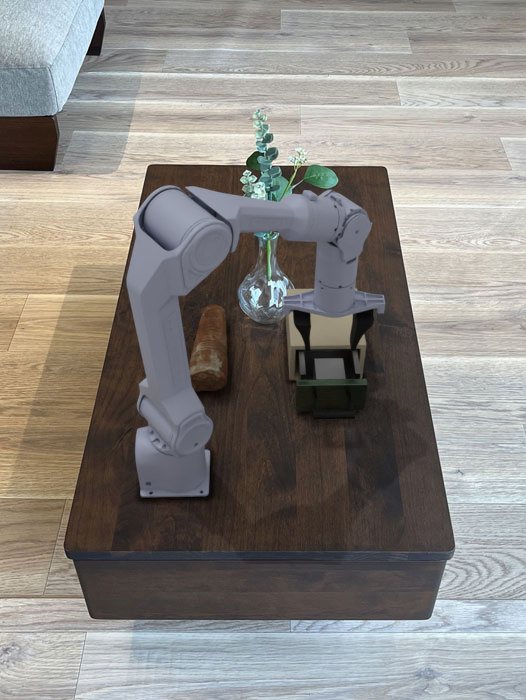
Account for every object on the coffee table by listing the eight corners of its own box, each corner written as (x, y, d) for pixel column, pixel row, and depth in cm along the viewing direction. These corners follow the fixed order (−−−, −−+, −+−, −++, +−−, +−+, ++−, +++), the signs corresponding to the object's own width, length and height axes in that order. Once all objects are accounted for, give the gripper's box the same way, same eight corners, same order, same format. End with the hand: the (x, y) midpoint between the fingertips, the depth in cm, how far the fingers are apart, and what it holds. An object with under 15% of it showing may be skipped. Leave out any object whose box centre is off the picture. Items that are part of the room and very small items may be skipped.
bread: (186, 398, 124) (183, 373, 120) (200, 316, 138) (198, 292, 134) (226, 399, 124) (225, 374, 120) (236, 318, 137) (235, 293, 133)
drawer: (367, 435, 117) (371, 409, 113) (297, 436, 117) (298, 410, 113) (355, 353, 130) (358, 327, 126) (291, 354, 130) (292, 327, 126)
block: (313, 378, 124) (314, 399, 121) (314, 358, 121) (316, 379, 118) (341, 378, 124) (343, 398, 121) (343, 357, 121) (345, 378, 118)
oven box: (362, 379, 127) (366, 344, 122) (289, 380, 127) (290, 346, 121) (353, 322, 137) (357, 287, 131) (286, 323, 136) (286, 288, 131)
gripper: (384, 257, 113) (374, 327, 122) (282, 258, 113) (280, 328, 122) (391, 288, 108) (380, 360, 117) (284, 290, 108) (282, 361, 117)
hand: (329, 346), depth 119 cm, fingers open, 6 cm apart
